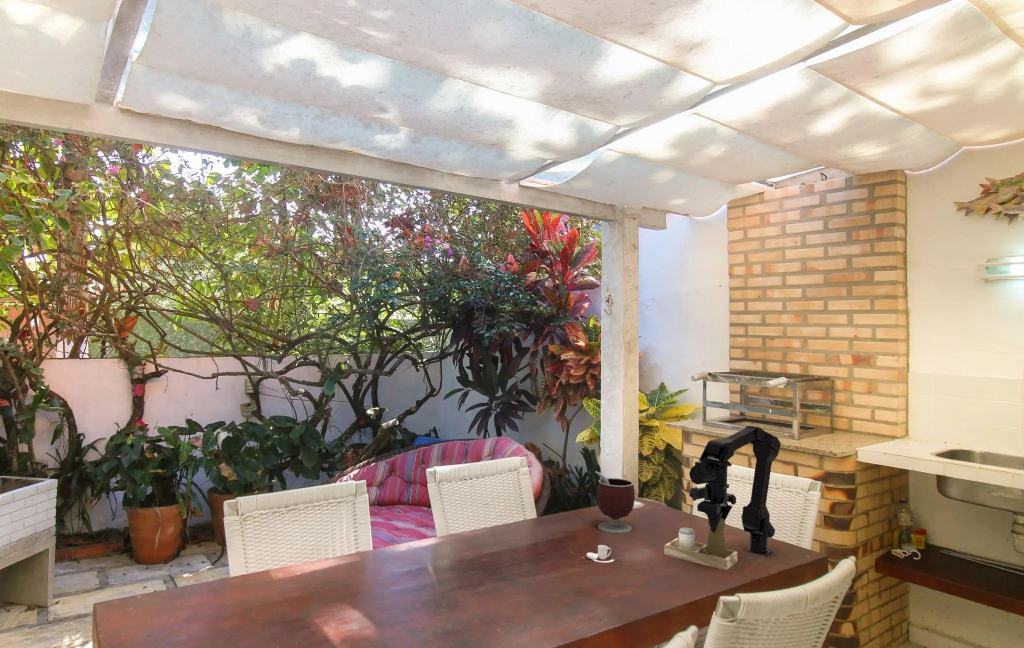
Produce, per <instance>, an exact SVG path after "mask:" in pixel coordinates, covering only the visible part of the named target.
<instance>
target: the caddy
mask: <svg viewBox="0 0 1024 648" xmlns="http://www.w3.org/2000/svg"><path fill="white" fill-rule="evenodd" d="M678 544H679V537H677V538H675V539H672V540H671V541H670V542H667V543H665V544H664V546H663V547H664V548H663V550H664V551H663V552H664V553H663V554H664V556H668V557H672V558H676V559H680V560H684V561H688V562H693V563H695V564H699V565H700V564H701V565H704V566H707V567H712V568H716V569H719V570H724V571H727V570H729V569H730V568H731V567H732V566H734V565H735V564H737V563H738V562H739V561H738V560H739V551H736V550H733V549H727V548H725V549H726V554H725V555H713V554H710V553H708V552H707V551H706V549H707V544H706V543H701V542H698V541H694V551H690V550H686V549H682V548H678Z"/></svg>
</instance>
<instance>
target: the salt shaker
mask: <svg viewBox="0 0 1024 648" xmlns="http://www.w3.org/2000/svg"><path fill="white" fill-rule="evenodd" d="M695 535H696V534H695V529H694V528H690V527H679V531H678V538H679V544H678V548H682V549H686V550H690V551H694V542H695Z"/></svg>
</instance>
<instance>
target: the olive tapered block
mask: <svg viewBox="0 0 1024 648" xmlns="http://www.w3.org/2000/svg"><path fill="white" fill-rule="evenodd" d="M707 524H708V526H709V531H708V538H707V549H706V551H707V552H708V553H710V554H713V555H725V554H726V549H727V548H726V542H725V530H724V528H725V527H726V520H724V519H723V518H721V519H720V521H719V524H718V527H717V529H716V532H712V531H711V527H710V523H709V520H708V522H707Z"/></svg>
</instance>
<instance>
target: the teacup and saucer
mask: <svg viewBox="0 0 1024 648" xmlns="http://www.w3.org/2000/svg"><path fill="white" fill-rule="evenodd" d="M609 550H610V551H609ZM608 551H609V553H608ZM611 552H612V548H610V547H609V546H607V545H605V544H604V545H603V544H599V545H597V553H594V552H587V553H586V557H587V558H588V559H591V560H592V561H594V562H596V563H612V562H614V561H615V560H616V558H613V557H610V555H611ZM608 557H610V560H606V559H607V558H608ZM598 559H600V560H598ZM601 560H602V561H601ZM605 560H606V561H605Z"/></svg>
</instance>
